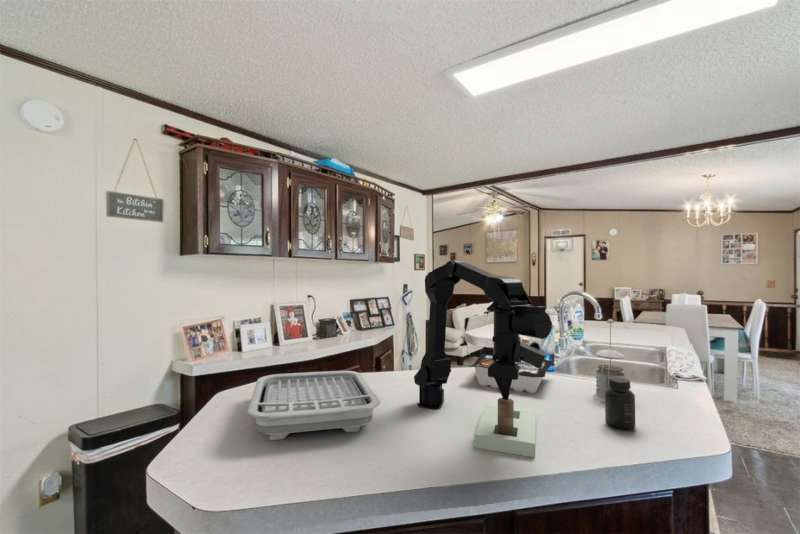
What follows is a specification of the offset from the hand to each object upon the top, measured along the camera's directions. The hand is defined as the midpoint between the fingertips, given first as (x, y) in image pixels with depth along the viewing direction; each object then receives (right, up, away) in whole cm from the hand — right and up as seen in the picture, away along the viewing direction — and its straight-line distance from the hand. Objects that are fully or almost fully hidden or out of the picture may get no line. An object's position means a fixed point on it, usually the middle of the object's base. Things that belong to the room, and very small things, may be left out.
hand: (505, 399), depth 88 cm
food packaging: (+15, -11, +48) cm, 51 cm away
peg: (0, -10, 0) cm, 10 cm away
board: (+2, -10, +5) cm, 12 cm away
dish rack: (-48, -11, +16) cm, 52 cm away
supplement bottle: (+33, -11, +10) cm, 36 cm away
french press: (+41, -11, +31) cm, 52 cm away
